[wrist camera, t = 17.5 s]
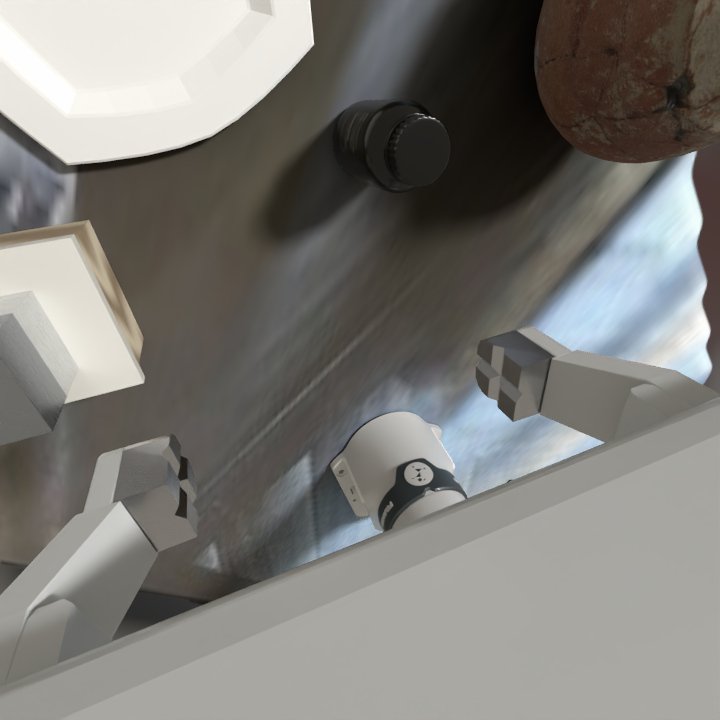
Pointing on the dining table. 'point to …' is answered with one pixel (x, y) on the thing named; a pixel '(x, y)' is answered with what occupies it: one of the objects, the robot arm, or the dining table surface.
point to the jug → (631, 75)
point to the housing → (30, 369)
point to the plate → (141, 69)
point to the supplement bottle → (391, 144)
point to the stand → (77, 302)
